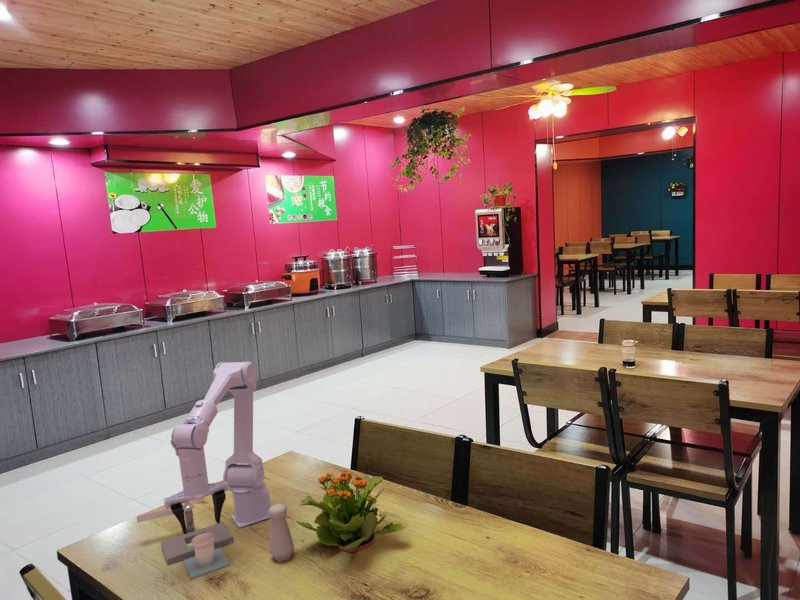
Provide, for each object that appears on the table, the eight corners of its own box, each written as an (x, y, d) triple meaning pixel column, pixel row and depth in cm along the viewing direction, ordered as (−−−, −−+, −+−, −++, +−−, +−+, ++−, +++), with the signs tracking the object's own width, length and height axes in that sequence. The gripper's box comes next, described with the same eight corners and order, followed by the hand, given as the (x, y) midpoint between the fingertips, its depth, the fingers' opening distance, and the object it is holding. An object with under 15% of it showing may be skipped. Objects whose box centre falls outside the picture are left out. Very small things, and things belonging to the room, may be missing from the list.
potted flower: (421, 526, 148) (416, 461, 146) (380, 580, 127) (372, 505, 125) (338, 513, 159) (331, 453, 156) (286, 561, 137) (278, 491, 135)
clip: (192, 506, 156) (192, 502, 156) (192, 510, 154) (192, 506, 154) (138, 519, 152) (137, 515, 152) (137, 523, 149) (136, 519, 149)
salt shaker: (289, 564, 136) (283, 512, 134) (266, 563, 137) (260, 512, 136) (298, 550, 142) (292, 500, 140) (276, 550, 143) (270, 500, 141)
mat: (220, 548, 146) (220, 547, 146) (229, 565, 138) (229, 563, 138) (183, 561, 141) (183, 560, 141) (191, 579, 133) (190, 577, 133)
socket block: (223, 526, 157) (223, 521, 157) (233, 542, 148) (232, 536, 148) (161, 547, 149) (160, 542, 149) (167, 565, 140) (167, 559, 140)
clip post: (194, 529, 157) (191, 507, 156) (195, 532, 155) (192, 510, 154) (186, 531, 156) (183, 510, 155) (188, 535, 154) (185, 513, 153)
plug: (214, 553, 143) (211, 530, 142) (219, 562, 139) (216, 539, 138) (192, 560, 141) (189, 537, 140) (197, 570, 136) (194, 546, 135)
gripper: (164, 488, 130) (172, 544, 131) (229, 469, 137) (236, 523, 139) (159, 477, 136) (167, 531, 137) (221, 460, 143) (228, 512, 145)
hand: (201, 526), depth 138 cm, fingers open, 7 cm apart
